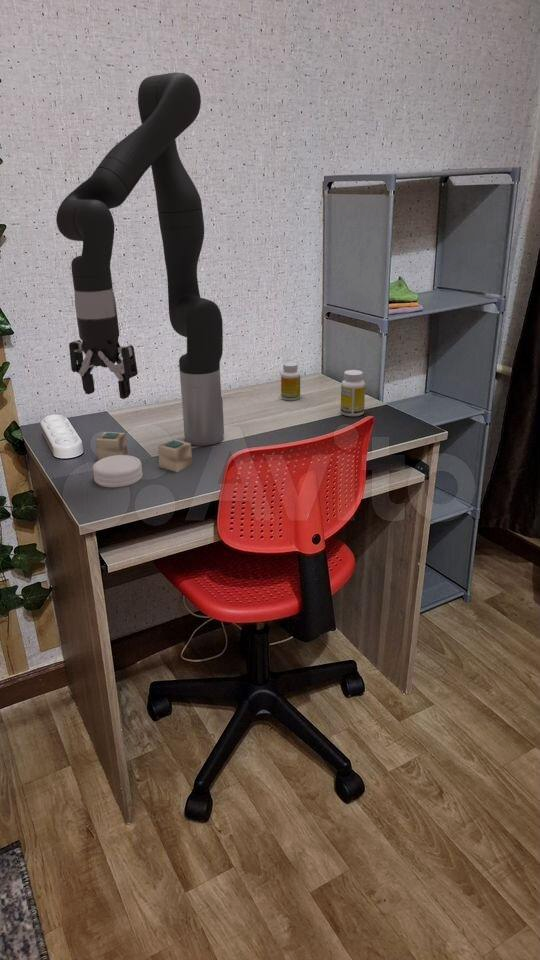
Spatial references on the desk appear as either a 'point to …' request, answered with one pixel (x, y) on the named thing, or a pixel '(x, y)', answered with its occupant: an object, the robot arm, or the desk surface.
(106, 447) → the marked block
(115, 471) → the white round container
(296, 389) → the supplement bottle
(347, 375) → the pill bottle
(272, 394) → the desk surface
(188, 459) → the marked block
